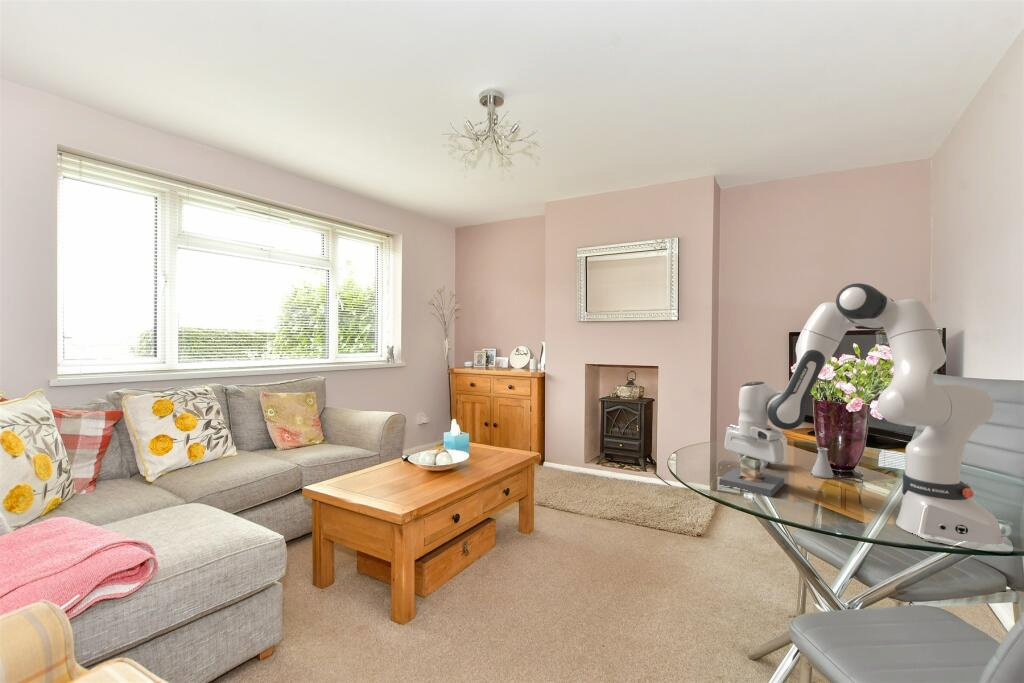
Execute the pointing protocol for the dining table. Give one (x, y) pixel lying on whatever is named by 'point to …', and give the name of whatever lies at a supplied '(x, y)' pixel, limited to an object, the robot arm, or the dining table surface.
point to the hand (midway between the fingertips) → (752, 469)
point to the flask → (822, 465)
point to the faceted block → (750, 467)
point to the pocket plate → (753, 482)
